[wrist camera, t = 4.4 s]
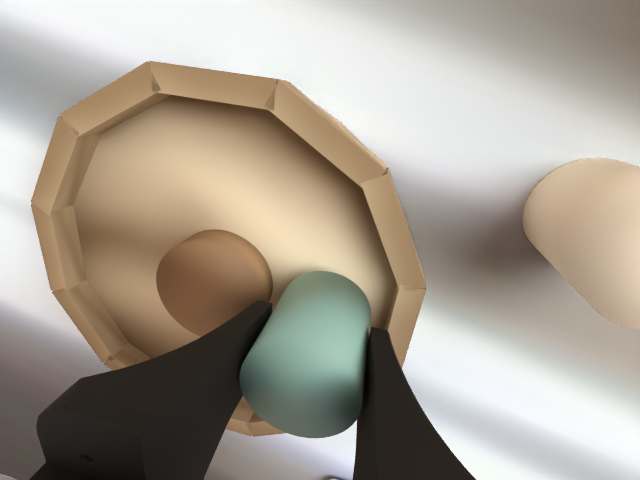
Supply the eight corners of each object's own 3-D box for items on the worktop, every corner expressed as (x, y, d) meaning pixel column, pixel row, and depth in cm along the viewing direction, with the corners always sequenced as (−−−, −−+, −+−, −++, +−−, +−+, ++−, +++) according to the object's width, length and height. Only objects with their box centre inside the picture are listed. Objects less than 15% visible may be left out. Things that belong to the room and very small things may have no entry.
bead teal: (362, 357, 15) (350, 451, 11) (278, 336, 16) (238, 418, 12) (379, 282, 14) (373, 359, 9) (285, 262, 14) (241, 327, 10)
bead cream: (613, 269, 13) (713, 346, 9) (507, 248, 14) (555, 312, 10) (670, 167, 11) (823, 205, 7) (547, 149, 12) (625, 174, 8)
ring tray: (372, 440, 19) (369, 479, 17) (97, 362, 22) (66, 388, 20) (469, 107, 12) (485, 108, 10) (37, 45, 14) (-20, 36, 12)
